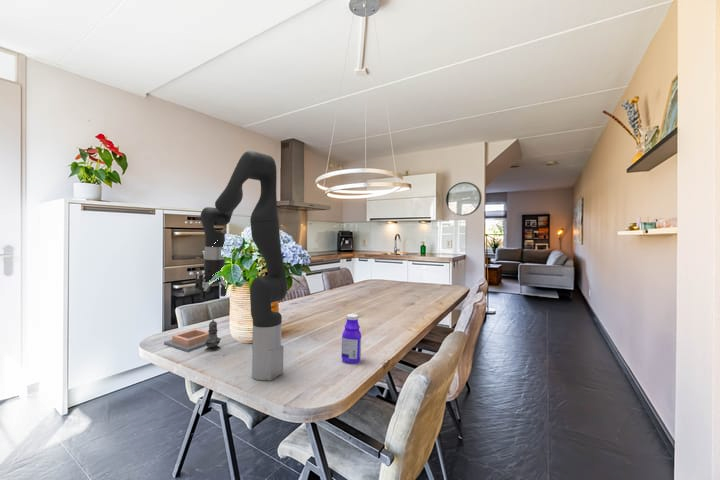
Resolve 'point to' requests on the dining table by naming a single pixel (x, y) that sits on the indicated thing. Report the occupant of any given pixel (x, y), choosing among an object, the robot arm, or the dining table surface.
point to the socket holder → (188, 340)
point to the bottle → (351, 340)
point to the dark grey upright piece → (212, 337)
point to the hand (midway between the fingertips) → (213, 298)
